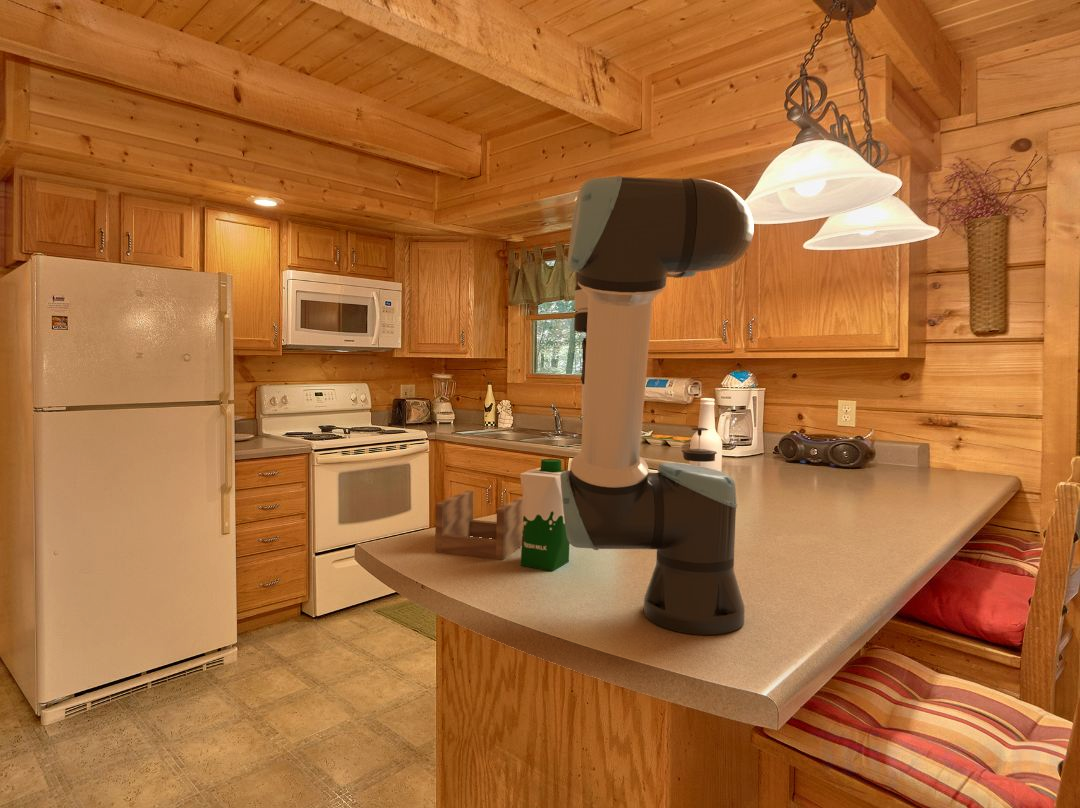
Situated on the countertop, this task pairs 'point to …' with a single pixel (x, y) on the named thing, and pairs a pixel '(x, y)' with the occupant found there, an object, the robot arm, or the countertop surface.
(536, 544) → the milk carton
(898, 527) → the countertop surface
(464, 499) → the wooden holder
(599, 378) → the robot arm
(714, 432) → the alcohol
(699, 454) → the french press
